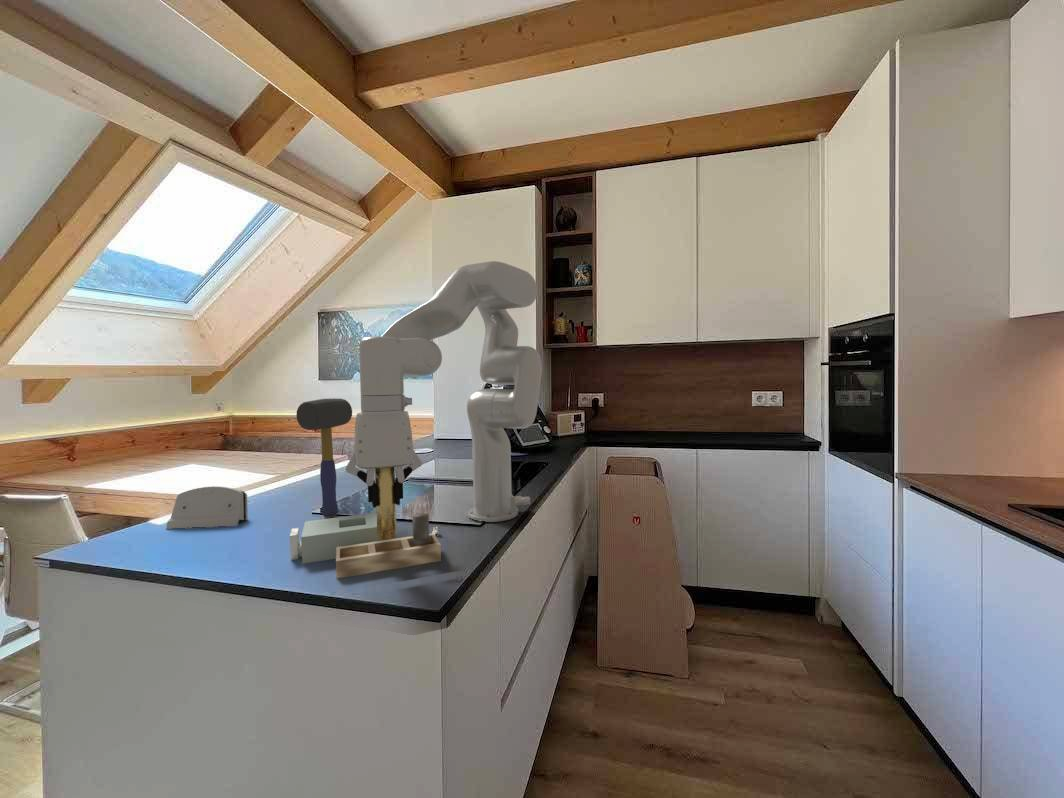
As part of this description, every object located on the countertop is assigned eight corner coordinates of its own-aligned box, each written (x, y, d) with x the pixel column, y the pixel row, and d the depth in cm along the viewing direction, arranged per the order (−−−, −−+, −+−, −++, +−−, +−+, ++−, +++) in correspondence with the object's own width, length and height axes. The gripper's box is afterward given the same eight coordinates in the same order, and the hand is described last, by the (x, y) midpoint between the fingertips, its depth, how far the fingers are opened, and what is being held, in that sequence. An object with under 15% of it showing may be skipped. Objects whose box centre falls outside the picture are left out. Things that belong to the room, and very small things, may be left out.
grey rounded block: (164, 529, 112) (171, 486, 115) (177, 529, 116) (183, 488, 119) (238, 525, 113) (243, 484, 116) (248, 526, 118) (252, 486, 121)
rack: (434, 552, 94) (433, 508, 94) (441, 565, 88) (439, 518, 87) (337, 568, 88) (335, 520, 87) (336, 583, 81) (334, 532, 80)
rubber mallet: (322, 526, 112) (316, 400, 110) (298, 523, 114) (292, 400, 112) (359, 511, 123) (354, 397, 121) (336, 508, 126) (331, 397, 124)
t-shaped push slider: (337, 548, 97) (336, 522, 96) (337, 556, 92) (336, 529, 92) (293, 555, 93) (292, 528, 93) (291, 563, 89) (289, 535, 89)
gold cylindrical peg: (395, 532, 89) (393, 464, 88) (397, 537, 86) (395, 467, 85) (376, 534, 88) (374, 465, 87) (377, 540, 85) (375, 469, 84)
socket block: (377, 539, 102) (376, 512, 102) (381, 556, 93) (380, 526, 92) (306, 550, 97) (305, 521, 97) (302, 568, 88) (301, 537, 87)
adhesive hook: (440, 543, 100) (439, 529, 100) (427, 544, 100) (427, 530, 100) (440, 538, 103) (439, 524, 103) (428, 539, 103) (427, 525, 103)
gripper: (425, 402, 92) (427, 494, 93) (334, 405, 86) (337, 504, 87) (432, 404, 85) (434, 504, 86) (333, 408, 79) (337, 515, 80)
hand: (385, 503), depth 87 cm, fingers closed on gold cylindrical peg, 3 cm apart
